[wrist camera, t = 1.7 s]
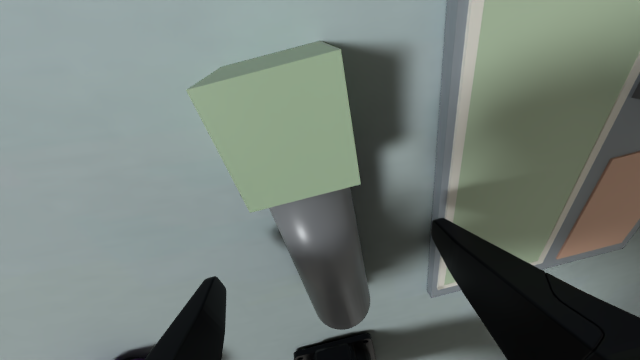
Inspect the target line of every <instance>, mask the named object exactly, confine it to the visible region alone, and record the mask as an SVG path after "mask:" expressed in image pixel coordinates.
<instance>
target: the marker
mask: <svg viewBox="0 0 640 360" xmlns="http://www.w3.org/2000/svg"><path fill="white" fill-rule="evenodd" d="M186 91H187V93H188V95H189V97H190V98H191V100H192V102H193V104H194V106H195V108H196V110H197V112H198V114H199V116H200V118H201V120H202V122H203V123H204V125H205V127H206V129H207V131H208V133H209V135H210V137H211V139H212V141H213V143H214V145H215V147H216V148H217V150H218V152H219V154H220V156H221V158H222V160H223V162H224V164H225V166H226V168H227V170H228V171H229V173H230V175H231V177H232V179H233V181H234V183H235V185H236V187H237V189H238V191H239V193H240V195H241V196H242V198H243V200H244V202H245V204H246V206H247V208H248V210H249V212H250V213H251V212H255V211H259V210H263V209H267V208H269V209H270V211H271V213H272V216H273V218H274V220H275V222H276V224H277V227H278V229H279V231H280V233H281V235H282V238H283V240H284V242H285V244H286V247H287V249H288V251H289V253H290V255H291V258H292V260H293V262H294V264H295V266H296V269H297V271H298V273H299V275H300V278H301V280H302V282H303V284H304V286H305V289H306V291H307V293H308V295H309V297H310V300H311V302H312V304H313V306H314V309H315V311H316V313H317V315H318V317H319V318H320V320H321V321H322V322H323V323H324V324H326V325H327V326H329V327H331V328H334V329H340V330H341V329H349V328H352V327H354V326H356V325H357V324H359V323H360V322H361V321H362V320H363V319H364V318H365V316H366V315H367V313H368V310H369V307H370V294H369V289H368V283H367V277H366V272H365V266H364V261H363V255H362V250H361V244H360V239H359V233H358V228H357V222H356V217H355V211H354V205H353V200H352V194H351V189H350V187H352V186H356V185H360V184H361V182H360V176H359V169H358V162H357V155H356V148H355V142H354V135H353V128H352V121H351V115H350V108H349V101H348V94H347V87H346V81H345V74H344V67H343V60H342V54H341V49H339V48H336V47H334V46H331V45H329V44H326V43H324V42H322V41H317V42H314V43H310V44H306V45H302V46H299V47H295V48H291V49H287V50H283V51H280V52H276V53H272V54H268V55H264V56H261V57H257V58H253V59H249V60H246V61H242V62H238V63H234V64H230V65H227V66H223V67H220V68H219V69H217V70H216V71H214V72H213V73H211V74H210V75H208V76H207V77H205V78H204V79H202V80H201V81H199V82H198V83H196V84H195V85H193V86H192V87H190V88H189V89H187V90H186Z"/></svg>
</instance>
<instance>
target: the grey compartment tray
mask: <svg viewBox="0 0 640 360" xmlns="http://www.w3.org/2000/svg"><path fill="white" fill-rule="evenodd" d="M438 218H445V219H447V220H449V221H451V222H452V223H454V224H456V225H458V226H460V227H462V228H464V229H466V230H467V231H469V232H471V233H473V234H475V235H477V236H479V237H481V238H483V239H484V240H486V241H488V242H490V243H492V244H494V245H496V246H498V247H499V248H501V249H503V250H505V251H507V252H509V253H511V254H513V255H514V256H516V257H518V258H520V259H522V260H524V261H526V262H528V263H530V264H531V265H533V266H535V267H537V268H539V269H545V268H549V267H553V266H557V265H561V264H565V263H568V262H572V261H576V260H580V259H584V258H588V257H592V256H596V255H599V254H603V253H607V252H611V251H615V250H619V249H623V248H624V247H625V245H626V244H627V243H628V241H629V240H630V239H631V237H632V236H633V235H634V234H635V232H636V231H637V230H638V228H639V227H640V0H447V6H446V21H445V35H444V49H443V64H442V78H441V93H440V107H439V121H438V136H437V150H436V164H435V179H434V193H433V207H432V221H433V220H434V219H438ZM431 226H432V222H431ZM460 290H461V289H460V287H459V286H458V284H457V283H456V281H455V280H454V278H453V277H452V275H451V273H450V272H449V270H448V268H447V266H446V264H445V262H444V260H443V258H442V256H441V255H440V253H439V251H438V249H437V247H436V245H435V243H434V241H433V239H432V236H430V250H429V265H428V279H427V292H428V293H429V295H430V297H431V298H433V297H437V296H441V295H445V294H449V293H452V292H456V291H460Z"/></svg>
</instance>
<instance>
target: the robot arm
mask: <svg viewBox="0 0 640 360" xmlns="http://www.w3.org/2000/svg"><path fill="white" fill-rule="evenodd" d="M431 236H432V239H433V241H434V243H435V245H436V247H437V249H438V251H439V253H440V255H441V256H442V258H443V260H444V262H445V264H446V266H447V268H448V270H449V272H450V273H451V275H452V277H453V278H454V280H455V281H456V283H457V284H458V286H459V287H460V289H461V290H462V292H463V293H464V295H465V296H466V298H467V299H468V301H469V302H470V304H471V305H472V307H473V308H474V310H475V311H476V313H477V314H478V316H479V317H480V319H481V320H482V322H483V323H484V325H485V326H486V328H487V329H488V331H489V332H490V334H491V335H492V337H493V338H494V340H495V341H496V343H497V344H498V346H499V348H500V349H501V351H502V352H503V354H504V355H505V357H506V358H507V360H640V318H639V317H637V316H635V315H633V314H630V313H628V312H626V311H624V310H622V309H619V308H617V307H615V306H613V305H611V304H609V303H606V302H604V301H602V300H600V299H598V298H596V297H594V296H592V295H590V294H587V293H585V292H583V291H581V290H579V289H577V288H575V287H573V286H571V285H569V284H568V283H566V282H564V281H562V280H560V279H558V278H556V277H554V276H552V275H550V274H548V273H545V272H544V271H543V270H541V269H539V268H537V267H535V266H533V265H531V264H530V263H528V262H526V261H524V260H522V259H520V258H518V257H516V256H514V255H513V254H511V253H509V252H507V251H505V250H503V249H501V248H499V247H498V246H496V245H494V244H492V243H490V242H488V241H486V240H484V239H483V238H481V237H479V236H477V235H475V234H473V233H471V232H469V231H467V230H466V229H464V228H462V227H460V226H458V225H456V224H454V223H452V222H451V221H449V220H447V219H445V218H438V219H434V220H433V221H432V226H431ZM225 318H226V288H225V286H224V285H223V284H222V283H221V281H220V280H219V279H218V278H217V277H216V276H214V277H210V278H207V279H205V280H204V281H203V283H202V284H201V285H200V287H199V288H198V289H197V291H196V292H195V293H194V295H193V296H192V297H191V299H190V300H189V301H188V303H187V304H186V305H185V307H184V308H183V309H182V311H181V312H180V313H179V315H178V316H177V317H176V319H175V320H174V321H173V323H172V324H171V325H170V327H169V328H168V329H167V331H166V332H165V333H164V335H163V336H162V337H161V339H160V340H159V341H158V343H157V344H156V345H155V347H154V348H153V349H152V351H151V352H150V353H149V354H148V356H147V357H146V358H145V360H221V358H222V350H223V343H224V335H225ZM294 360H376V358H375V353H374V348H373V344H372V339H371V336H370V334H368V333H365V334H361V335H357V336H353V337H349V338H345V339H341V340H338V341H334V342H330V343H326V344H322V345H318V346H314V347H310V348H307V349H303V350H299V351H296V352H295V353H294Z"/></svg>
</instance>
